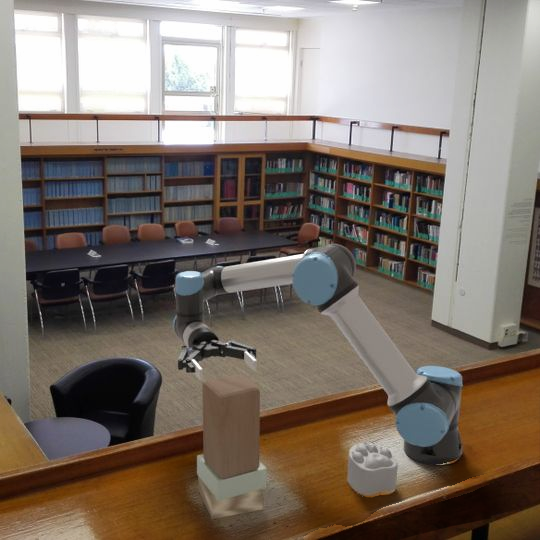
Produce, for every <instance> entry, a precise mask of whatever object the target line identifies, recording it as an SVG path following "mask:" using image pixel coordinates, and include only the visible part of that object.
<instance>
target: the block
mask: <svg viewBox="0 0 540 540" xmlns="http://www.w3.org/2000/svg"><path fill="white" fill-rule="evenodd" d="M201 386H202V387H201V388H202V393H201V394H202V434H203V435H202V436H203V437H202V441H203V442H202V443H203V444H202V447H203V449H202V450H203V453H202V454H204V460H205V462H206V463H207V464H208V465H209V466H210V467H211V468H212V470H213V471H214V472H215V473H216V474H217V475H218V476H219V477H220V478H222V479H225V478H228V477H232V476H235V475H239V474H242V473H246V472H249V471H252V470H256V469H258V468H259V461H260V453H261V451H260V444H261V443H260V442H261V441H260V440H261V438H260V437H261V435H260V434H261V433H260V432H261V430H260V429H261V423H260V421H261V418H260V417H261V416H260V415H261V414H260V412H261V410H260V409H261V403H260V402H261V390H260V388H259V387H258V386H257V385H256V384H254V383H253V382H252V381H250V380H249V379H247V377H245V376H244V375H243V374H241V373H240V374H239V373H236V374H230V375H227V376H222V377H217V378H213V379H209V380H204V381H202V385H201Z"/></svg>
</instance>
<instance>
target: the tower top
mask: <svg viewBox="0 0 540 540" xmlns="http://www.w3.org/2000/svg"><path fill="white" fill-rule="evenodd" d="M267 469H268V468H267V467H266V466H265V465H264V463H262V462H261V461H260V460H259V468H258V469H256V470H252V471H249V472H246V473H242V474H239V475H235V476H232V477H228V478H225V479H222V478H220V477H219V476H218V475H217V474H216V473H215V472H214V471H213V470H212V468H211V467H210V466H209V465H208V464H207V463H206V462H205V460H204V453H201V454H198V455H196V475H197V476H199V477H200V479H201V480H202V481H203V483H204V484H205V485H206V486H207V488H208V489H209V490H210V492H211V493H212V494H213V495H214V497H215V498H216V499H217V501H220V500H223V499H227V498H231V497H234V496H238V495H242V494H245V493H249V492H253V491H256V490H260V489H262V490H264V489H266V488H267Z"/></svg>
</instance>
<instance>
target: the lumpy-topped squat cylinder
mask: <svg viewBox="0 0 540 540" xmlns="http://www.w3.org/2000/svg"><path fill="white" fill-rule="evenodd" d="M347 463H348V465H347V479H346V480H347V482H348V484H349V486H350V487H351V488H352V490H353V489H354V491H357V492H358V493H360V494H364V495H372V494H376V493H379V492H382V491H391V490H394V489H395V488H396V489H397V478H398V477H397V476H398V464H399V463H398V461H397V459H396V458H395V457H394V455H393V454H392V452H391V450H390V449H389V448H388V447H382V446H379V445H376V444H374V443H372V442H369V443H368V442H359V443H356V444H354V445H353V446H351V447H350V449H349V451H348V462H347ZM358 493H357V494H358Z"/></svg>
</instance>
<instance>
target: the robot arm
mask: <svg viewBox="0 0 540 540" xmlns="http://www.w3.org/2000/svg"><path fill="white" fill-rule="evenodd" d="M356 270H357V262H356V259H355V256H354V254H353V253H352V252H351V251H350V249H348V248H347V247H345V246H343V245H342V244H338V243H327V244H323V245H322V246H317V247H313V248H308V249H306V250H305V251H304V252H303V253H301V254H300V253H299V254H294V255H287V256H283V257H277V258H269V259H265V260H258V261H252V262H246V263H241V264H235V265H229V266H222V265H216V266H213V267H210V268H207V270H205V271H203V272H199V271H195V270H187V271H182V272H179V273H177V274H176V277H175V286H174V291H175V309H176V310H175V311H176V313H175V316H174V318H173V321H172V328H173V330H174V332H175V334H176V336H177V337H178V338H179V339H180V340H181V341H182V342H183V343H184V344H185V345H181V352H180V354H179V356H178V358H177V369H178V370H179V371H181V370H183V369H185V372H186V373H192V374H194V375H195V376H196V378H197V379H198V380H199V381H203V379H204V377H203V375H204V374H203V367H201V366H200V364H199V362H202V361H203V360H204V359H205V360H206V359H209V358H211V357H215V358H216V357H219V358H220V357H221V358H226V357H229V358H234V359H238V360H244V361H243V363H245V364H246V365H247V366H248V367H249V368H250V369H251V370H252V371H253V372H257V370H258V364H257V363H258V360H257V348H256V347H254V346H251V345H247V344H245V343H241V342H238V341H236V340H234V339H231V338H230V339H228V340H227V342H224V341H220V338H219V337H218V336H217V334H215V332H214V331H213V330H212V329H211V328H210V327H209V326H208V325H207V324H206V323H205V302H206V301H209V300H210V299H212V298H214V297H215V296H220V295H225V294H231V293H237V292H244V291H252V290H259V289H264V288H273V287H279V286H286V285H292V287H293V290H294V292H295V294H296V295H297V296H298V298H299V299H301V301H302V302H304V303H306V304H309V305H312V306H314V307H315V308H316V309H317V310H318V312H319V314H321V315H324V316H329V317H330V318H331V319H332V320H333V322H334V324H335V325H336V326H337V327H338V329H339V330H340V332H341V333H342V334H343V336H344V337H345V338H346V340H347V341H348V343H349V344H350V345H351V346H352V347H353V349H354V350H355V352H356V353H357V355H358V356H359V358H360V359H361V360H362V361H363V363H364V364H365V365H366V367H367V368H368V370H369V371H370V373H372V375H373V377H374V378H375V379H376V381H377V383H379V385H380V386H381V388H382V389H383V390H384V392H385V393H386V394H387V396H388V398H387V402H386V403H387V406H388V407H389V409H390V410H391V412H392V413H393V414H394V415H395V427H396V430H397V433H398V434H399V436H400V437H401V438H402V439H403V451H404V453H405V454H406V455H407V456H408V457H409V458H411V459H413V460H414V461H416V462H418V463H421V464H424V465H429V466H437V465H436V464H443V463H447V462H451V461H454V460H456V459H458V458H460V457H461V455H462V456H463V443H462V440H461V435H460V431H459V427H458V426H459V418H460V411H461V410H460V407H461V399H462V398H461V397H462V389H463V388H462V387H464V385H463V376H462V374H461V373H460V372H458V371H457V370H455V369H451V368H448V367H444V366H438V365H426V366H421V367H418V368H417V370H416V371H415V370H414V369H413V367H412V366H411V365H410V363H409V362H408V360H407V359H406V358H405V356H404V355H403V354H402V352H401V351H400V349H398V347H397V345H396V344H395V343H394V342H393V341H392V339H391V337H389V335H388V333H387V332H386V331H385V330H384V328H383V327H382V325H381V324H380V322H378V320H377V319H376V318H375V316H374V315H373V312H371V311H370V309H369V308H368V307H367V305H366V304H365V303H364V301H363V300H362V298H361V297H360V296H359V289H360V285H359V284H358V282H357V281H356V280H355V278H354V276H355V274H356V272H357V271H356ZM461 458H462V457H461ZM430 464H431V465H430Z"/></svg>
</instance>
